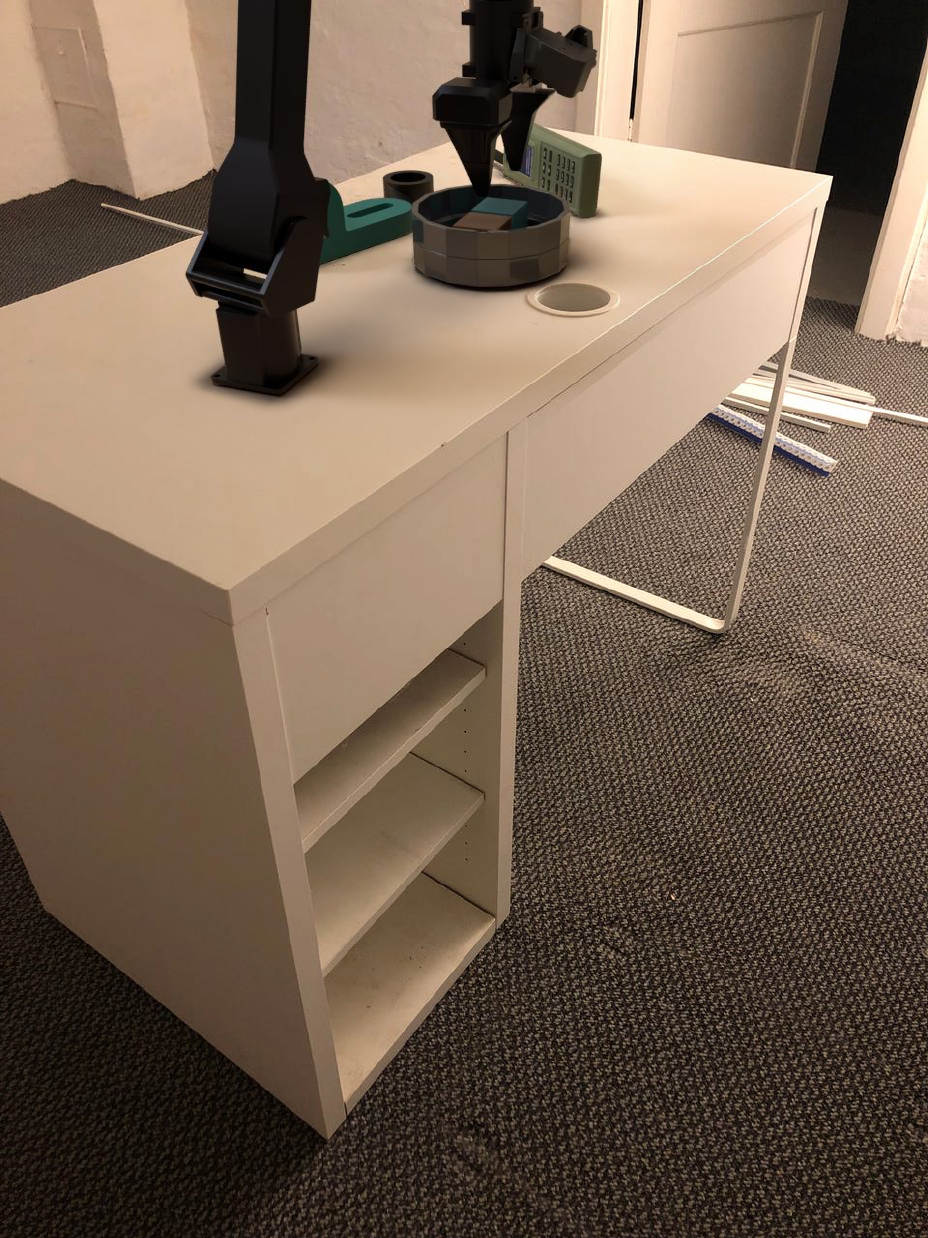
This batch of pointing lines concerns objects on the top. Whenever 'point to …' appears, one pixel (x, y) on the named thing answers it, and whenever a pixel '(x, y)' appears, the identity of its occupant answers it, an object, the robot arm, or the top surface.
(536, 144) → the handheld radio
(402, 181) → the duct tape
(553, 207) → the faceted round tray
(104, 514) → the top surface
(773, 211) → the top surface
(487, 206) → the teal block
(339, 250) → the bracket
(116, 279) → the top surface
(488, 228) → the walnut block
